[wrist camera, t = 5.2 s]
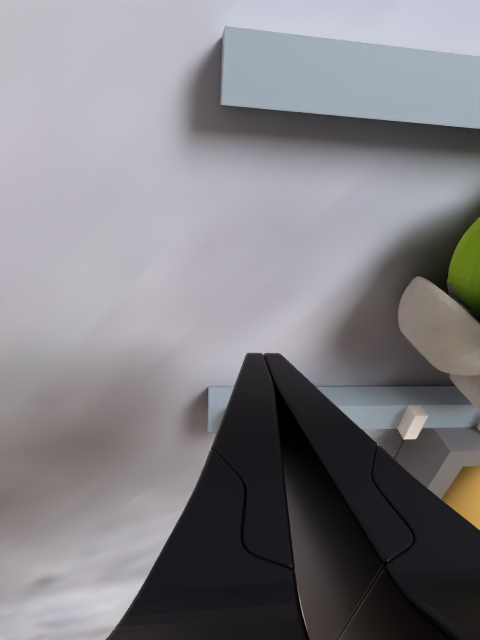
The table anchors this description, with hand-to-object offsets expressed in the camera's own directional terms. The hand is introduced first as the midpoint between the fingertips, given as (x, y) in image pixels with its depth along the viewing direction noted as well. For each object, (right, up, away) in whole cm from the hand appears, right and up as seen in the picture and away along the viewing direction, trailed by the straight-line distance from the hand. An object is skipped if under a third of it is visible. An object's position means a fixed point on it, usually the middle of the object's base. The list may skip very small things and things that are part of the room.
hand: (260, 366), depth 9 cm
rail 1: (+9, +8, +2) cm, 12 cm away
